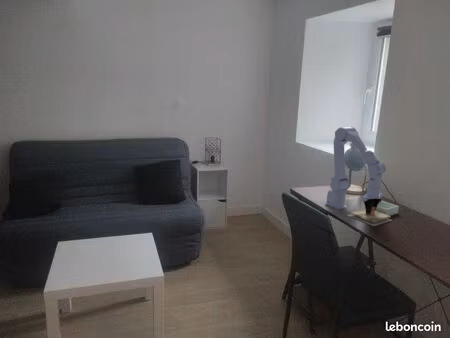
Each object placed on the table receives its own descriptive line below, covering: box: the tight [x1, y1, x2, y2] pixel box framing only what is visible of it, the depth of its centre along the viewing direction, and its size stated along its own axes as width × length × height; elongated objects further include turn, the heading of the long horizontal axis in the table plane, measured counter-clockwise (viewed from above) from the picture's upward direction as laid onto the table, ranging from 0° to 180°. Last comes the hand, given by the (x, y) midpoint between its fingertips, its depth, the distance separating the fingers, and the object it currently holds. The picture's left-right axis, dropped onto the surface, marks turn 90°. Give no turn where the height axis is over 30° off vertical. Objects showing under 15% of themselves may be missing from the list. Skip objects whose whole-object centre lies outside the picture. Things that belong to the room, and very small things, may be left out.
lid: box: [349, 206, 392, 223], centre depth 175 cm, size 14×14×5 cm
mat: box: [346, 213, 393, 227], centre depth 176 cm, size 16×16×1 cm
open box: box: [375, 200, 400, 216], centre depth 184 cm, size 11×11×4 cm
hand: (370, 212), depth 175 cm, fingers closed on lid, 3 cm apart
